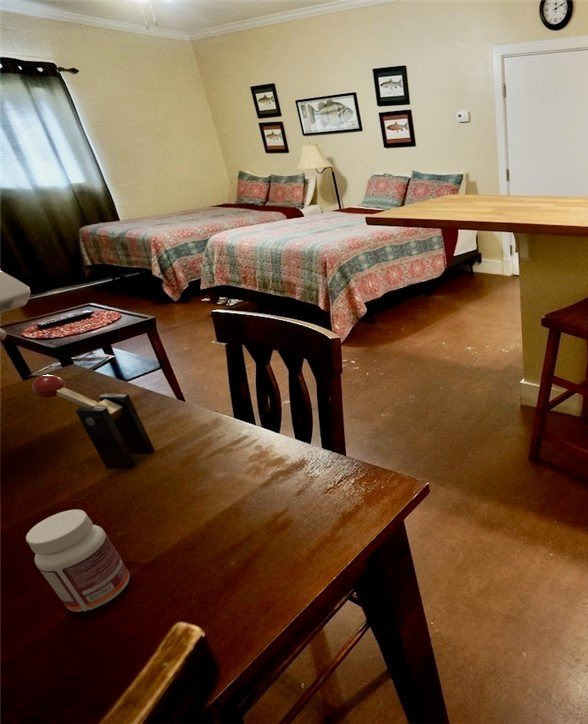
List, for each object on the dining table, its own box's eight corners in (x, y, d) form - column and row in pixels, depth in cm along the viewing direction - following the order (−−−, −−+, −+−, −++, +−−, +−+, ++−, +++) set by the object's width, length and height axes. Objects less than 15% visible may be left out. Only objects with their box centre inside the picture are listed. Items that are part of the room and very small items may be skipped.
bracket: (91, 478, 78) (54, 413, 72) (127, 452, 84) (96, 390, 79) (142, 480, 77) (109, 415, 72) (174, 453, 84) (146, 391, 78)
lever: (24, 395, 73) (25, 378, 72) (47, 383, 76) (48, 367, 75) (105, 429, 75) (107, 413, 74) (124, 417, 79) (126, 401, 77)
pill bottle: (140, 566, 62) (103, 501, 57) (115, 607, 57) (72, 539, 52) (85, 576, 61) (42, 511, 56) (54, 619, 56) (4, 551, 50)
